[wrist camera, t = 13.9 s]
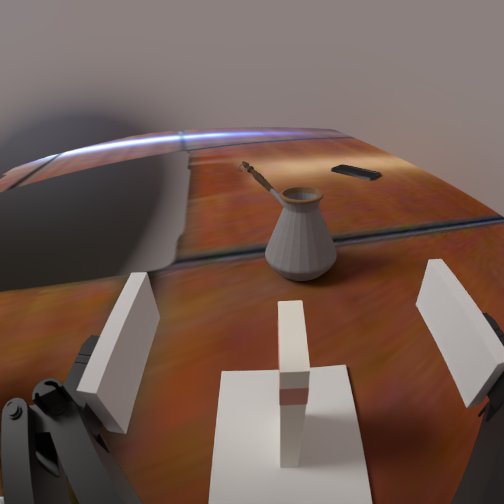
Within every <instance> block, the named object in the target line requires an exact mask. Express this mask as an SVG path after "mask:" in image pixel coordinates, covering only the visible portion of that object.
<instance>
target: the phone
mask: <svg viewBox="0 0 504 504" xmlns="http://www.w3.org/2000/svg"><path fill="white" fill-rule="evenodd" d="M331 171H332V172H336V173H341V174H345V175H350V176H354V177H358V178H362V179H366V180H374V179H376V177H377V178H378V177H380V176H381V173H379V172H375V171H371V170H366V169H362V168H357V167H353V166H348V165H339V166H336V167H334V168H331Z"/></svg>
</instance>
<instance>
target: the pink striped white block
mask: <svg viewBox="0 0 504 504" xmlns="http://www.w3.org/2000/svg"><path fill="white" fill-rule="evenodd" d="M278 318H279V319H278V350H279V405H280V467H298V462H299V456H300V449H301V442H302V435H303V427H304V420H305V412H306V404H307V402H308V394H309V377H310V366H309V356H308V347H307V338H306V329H305V321H304V312H303V304H302V301H278Z"/></svg>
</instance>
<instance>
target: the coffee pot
mask: <svg viewBox="0 0 504 504" xmlns="http://www.w3.org/2000/svg"><path fill="white" fill-rule="evenodd" d="M242 164H243V166H244V167H245V168H246V169H247V171H248V172H249V173H251V174H252V175H253V177H254V178H255V180H257V181H258V182H259V183H260V184H261V185H262V186H263V187H265V188H266V189H267V190H268V191H269V192H271V193H272V194H273V196H274V197H275V198H276V199H277V200H278V201H279V202H280V203H281V204H282V205H283V206H284V208H283V210H282V213H281V215H280V218H279V220H278V222H277V225H276V227H275V229H274V232H273V234H272V236H271V239H270V241H269V244H268V246H267V248H266V253H265V257H266V259H267V261H268V263H269V265H270V266H271V267H272V268H273V269H274V270H275V271H276V272H278V273H279V274H281V275H282V276H284V277H285V278H287V279H291V280H295V281H308V280H312V279H315V278H317V277H319V276H320V275H322V274H323V273H325V272H326V271H328V270H329V269H330V268H331V267H332V265H333V264H334V262H335V261H336V257H337V251H336V248H335V246H334V243H333V241H332V238H331V236H330V233H329V231H328V228H327V226H326V223H325V221H324V219H323V216H322V214H321V211H320V209H319V207H318V206H319V202H320V200H321V199H322V198H323V193H322V191H321V190H320V189H318V188H314V187H304V186H297V187H290V188H286V189H284V190H282V191H281V192H280V193H279V194H278V193H277V192H276V191H275V190H274V189H273V187H272V186H271V185H270V184H269V183H268V182H267V181H266V180H265V178H264V177H263V176H262V175H261V174H260V173H258V172H257V171H255V170H254V168H253V167H252V166H249V163H247V162H242ZM242 164H240V165H239V167H240V166H241V165H242ZM239 167H238V170H239ZM246 169H244V170H239V171H245V170H246Z"/></svg>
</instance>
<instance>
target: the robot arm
mask: <svg viewBox="0 0 504 504" xmlns="http://www.w3.org/2000/svg"><path fill="white" fill-rule="evenodd" d="M416 306H417V307H418V309H419V311H420V313H421V315H422V316H423V318H424V320H425V322H426V324H427V326H428V328H429V330H430V332H431V333H432V335H433V337H434V339H435V341H436V343H437V345H438V347H439V349H440V351H441V353H442V355H443V357H444V359H445V361H446V363H447V365H448V368H449V370H450V372H451V374H452V376H453V378H454V380H455V383H456V385H457V387H458V389H459V392H460V394H461V396H462V398H463V401H464V403H465V405H466V408H468V407H471V406H474V405H477V404H480V403H481V402H482V401H483V399H484V398H485V397H486V395H487V396H488V398H489V402H488V403H487V404H486V405H485V407H484V408H483V409H482V410H481V411H480V413H479V415H478V416H479V417H480V416H481V415H482V414H483V413H484V416H483V420H482V423H481V426H480V430H479V433H478V436H477V439H476V442H475V445H474V448H473V451H472V454H471V457H470V460H469V462H468V465H467V468H466V470H465V473H464V475H463V478H462V480H461V482H460V485H459V487H458V489H457V492H456V494H455V496H454V498H453V500H452V503H451V504H504V333H503V332H502V330H500V327H499V326H498V324H497V323H496V321H495V320H494V319H493V318H492V317H491V316H489V315H488V314H487V313H481V311H480V310H479V308H478V307H477V306H476V304H475V303H474V301H473V300H472V299H471V297H470V296H469V294H468V293H467V292H466V290H465V289H464V288H463V286H462V285H461V284H460V282H459V281H458V280H457V278H456V277H455V276H454V274H453V273H452V272H451V271H450V269H449V268H448V267H447V265H446V264H445V263H444V262H443V260H442V259H432V260H429V261H428V264H427V268H426V272H425V275H424V279H423V283H422V286H421V289H420V293H419V296H418V299H417V302H416ZM159 319H160V316H159V312H158V309H157V306H156V302H155V299H154V296H153V292H152V289H151V285H150V282H149V278H148V275H147V272H143V273H131V275H130V277H129V279H128V281H127V283H126V285H125V287H124V289H123V291H122V293H121V295H120V297H119V299H118V301H117V303H116V305H115V307H114V309H113V311H112V313H111V315H110V317H109V319H108V321H107V323H106V325H105V327H104V329H103V331H102V334H101V336H93V335H91V336H90V337H89V338H88V339H87V340H86V341H85V342H84V343H83V345H82V347H81V349H80V351H79V353H78V356H77V357H76V359H75V363H74V364H73V366H72V368H71V370H70V372H69V375H68V377H67V379H66V381H65V383H64V386H63V385H62V383H61V382H60V381H59V380H57V379H55V378H48V379H45V380H42V381H41V382H40V383H38V384H37V386H36V387H35V388H34V390H33V393H32V400H33V402H34V403H35V404H36V405H28V404H27V403H26V402H25V401H24V400H23V399H21V398H14V399H11V400H9V401H8V402H7V403H6V404H5V406H4V408H3V411H2V420H1V471H2V487H3V498H4V504H71V500H70V495H69V491H68V485H67V480H66V476H67V478H68V480H69V483H70V485H71V487H72V489H73V492H74V494H75V496H76V498H77V500H78V502H79V504H143V503H142V502H141V500H140V499H139V497H138V496H137V494H136V492H135V491H134V489H133V488H132V486H131V484H130V483H129V481H128V480H127V478H126V476H125V475H124V473H123V471H122V470H121V468H120V466H119V464H118V463H117V461H116V459H115V457H114V455H113V454H112V452H111V450H110V448H109V446H108V444H107V442H106V440H105V438H104V436H103V435H102V433H101V432H100V430H101V427H102V424H103V425H104V426H105V428H106V429H107V430H108V431H111V432H117V433H123V434H126V432H127V428H128V424H129V421H130V417H131V413H132V409H133V406H134V402H135V399H136V395H137V392H138V388H139V385H140V381H141V378H142V374H143V371H144V367H145V364H146V361H147V358H148V354H149V351H150V348H151V345H152V341H153V338H154V335H155V332H156V329H157V326H158V323H159ZM65 473H66V474H65Z"/></svg>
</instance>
